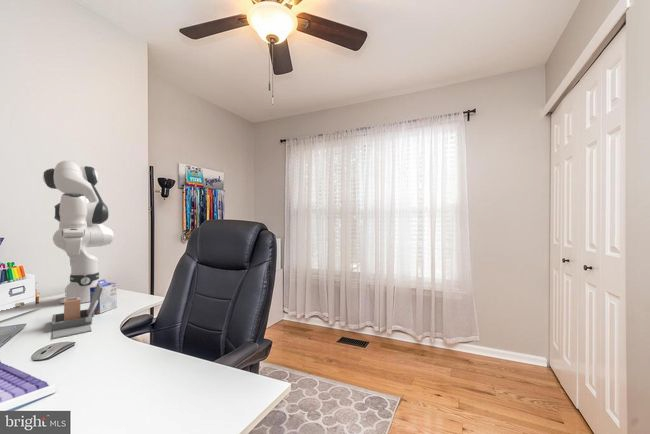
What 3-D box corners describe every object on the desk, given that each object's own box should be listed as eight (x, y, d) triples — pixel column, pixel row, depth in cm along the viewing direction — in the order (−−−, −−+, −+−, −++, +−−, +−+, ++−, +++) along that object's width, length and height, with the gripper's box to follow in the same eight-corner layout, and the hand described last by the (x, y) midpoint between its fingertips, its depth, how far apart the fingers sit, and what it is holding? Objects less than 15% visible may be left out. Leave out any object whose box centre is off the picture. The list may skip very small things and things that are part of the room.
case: (52, 321, 120) (53, 287, 120) (99, 313, 130) (99, 281, 130) (51, 333, 108) (52, 295, 108) (102, 323, 119) (103, 288, 119)
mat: (53, 332, 109) (53, 331, 109) (90, 325, 116) (90, 324, 116) (52, 339, 103) (52, 337, 103) (91, 331, 111) (91, 330, 111)
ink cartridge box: (107, 306, 140) (107, 277, 140) (117, 307, 140) (118, 278, 140) (88, 313, 131) (89, 282, 131) (99, 314, 130) (100, 282, 130)
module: (63, 322, 119) (64, 297, 119) (79, 320, 122) (80, 295, 122) (63, 326, 115) (64, 300, 115) (80, 323, 118) (80, 298, 118)
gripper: (63, 230, 124) (62, 262, 124) (62, 232, 109) (62, 268, 109) (82, 230, 128) (81, 260, 128) (84, 232, 113) (83, 266, 113)
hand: (72, 264), depth 119 cm, fingers open, 8 cm apart
